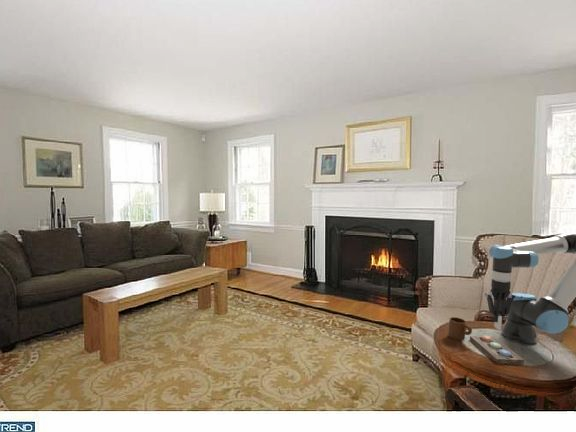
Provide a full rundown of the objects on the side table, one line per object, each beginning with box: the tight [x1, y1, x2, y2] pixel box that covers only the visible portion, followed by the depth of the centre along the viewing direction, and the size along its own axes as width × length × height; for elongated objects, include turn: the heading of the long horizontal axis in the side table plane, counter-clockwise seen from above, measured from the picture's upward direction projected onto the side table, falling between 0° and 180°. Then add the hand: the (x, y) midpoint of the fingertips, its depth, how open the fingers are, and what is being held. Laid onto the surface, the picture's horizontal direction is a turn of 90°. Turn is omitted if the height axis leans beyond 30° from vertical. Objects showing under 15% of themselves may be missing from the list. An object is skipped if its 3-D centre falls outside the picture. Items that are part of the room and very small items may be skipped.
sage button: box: [490, 342, 501, 350], centre depth 154 cm, size 4×4×3 cm
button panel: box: [469, 335, 525, 365], centre depth 154 cm, size 12×22×2 cm, turn 179°
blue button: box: [499, 349, 511, 358], centre depth 147 cm, size 4×4×3 cm
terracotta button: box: [481, 335, 492, 343], centre depth 161 cm, size 4×4×3 cm
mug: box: [447, 316, 473, 342], centre depth 165 cm, size 12×8×9 cm, turn 21°
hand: (497, 328), depth 153 cm, fingers closed
